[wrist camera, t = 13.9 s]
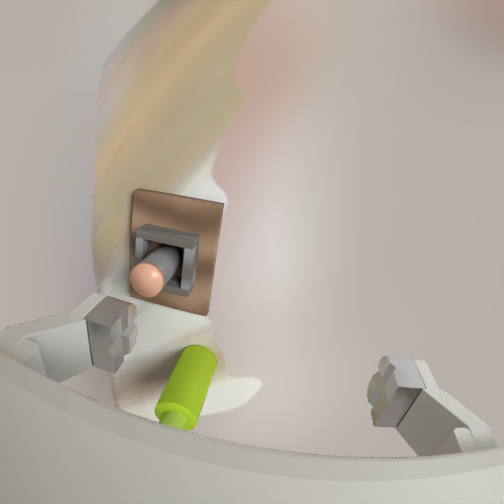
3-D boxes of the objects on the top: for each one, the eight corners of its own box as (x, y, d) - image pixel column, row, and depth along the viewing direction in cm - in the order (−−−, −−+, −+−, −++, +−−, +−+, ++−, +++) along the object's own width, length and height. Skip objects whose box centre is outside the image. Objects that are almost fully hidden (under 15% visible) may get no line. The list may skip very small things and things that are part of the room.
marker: (157, 238, 41) (130, 261, 34) (185, 245, 41) (162, 270, 34) (155, 265, 43) (129, 292, 35) (182, 272, 42) (160, 301, 35)
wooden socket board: (139, 188, 41) (123, 194, 36) (224, 203, 40) (216, 211, 36) (134, 292, 46) (121, 305, 42) (208, 311, 46) (200, 327, 42)
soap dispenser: (170, 352, 50) (121, 443, 31) (204, 340, 48) (161, 440, 29) (189, 377, 51) (151, 470, 32) (223, 367, 49) (192, 467, 30)
